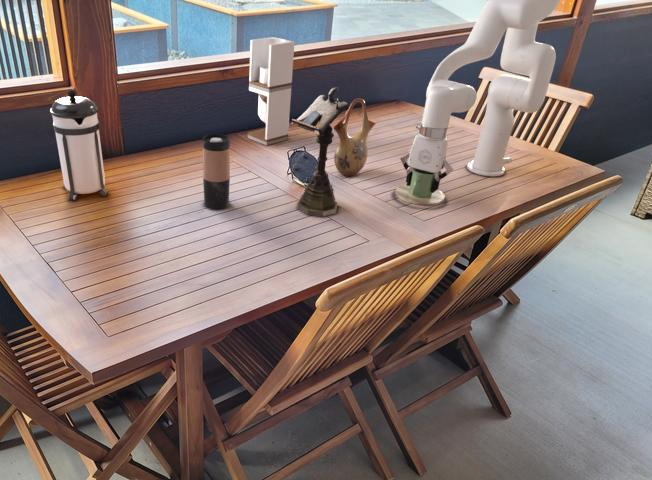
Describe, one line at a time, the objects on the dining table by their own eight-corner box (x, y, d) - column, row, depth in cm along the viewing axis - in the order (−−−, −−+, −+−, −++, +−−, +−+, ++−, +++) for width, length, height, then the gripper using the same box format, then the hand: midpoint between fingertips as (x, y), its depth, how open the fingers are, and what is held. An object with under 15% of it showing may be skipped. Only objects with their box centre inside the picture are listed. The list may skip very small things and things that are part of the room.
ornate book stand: (305, 225, 159) (317, 97, 139) (277, 208, 168) (284, 85, 148) (348, 212, 167) (365, 89, 147) (320, 196, 176) (332, 78, 156)
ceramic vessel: (337, 182, 186) (347, 104, 172) (321, 173, 192) (329, 97, 178) (375, 174, 193) (388, 99, 179) (358, 165, 199) (369, 92, 185)
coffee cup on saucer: (406, 182, 186) (411, 157, 181) (451, 194, 179) (457, 169, 174) (387, 196, 175) (392, 171, 171) (434, 210, 168) (440, 183, 164)
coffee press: (123, 186, 177) (112, 86, 160) (90, 205, 165) (75, 99, 148) (78, 176, 182) (63, 78, 166) (43, 193, 170) (23, 90, 154)
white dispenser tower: (268, 132, 226) (273, 36, 207) (287, 139, 220) (294, 41, 200) (247, 137, 220) (250, 39, 200) (266, 145, 213) (271, 44, 194)
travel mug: (233, 201, 170) (234, 136, 159) (223, 211, 164) (224, 144, 153) (209, 197, 172) (208, 132, 161) (199, 207, 166) (197, 140, 155)
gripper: (400, 128, 167) (390, 184, 177) (458, 141, 159) (444, 199, 169) (410, 122, 172) (399, 177, 182) (466, 134, 164) (452, 191, 174)
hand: (421, 187), depth 176 cm, fingers open, 7 cm apart
